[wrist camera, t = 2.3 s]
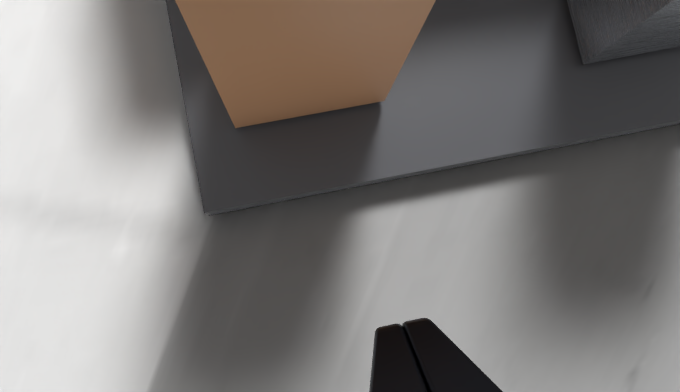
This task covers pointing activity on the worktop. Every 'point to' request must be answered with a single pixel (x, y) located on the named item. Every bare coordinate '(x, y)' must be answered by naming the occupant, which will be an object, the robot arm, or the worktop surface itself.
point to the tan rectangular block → (302, 52)
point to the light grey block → (624, 27)
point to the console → (432, 106)
